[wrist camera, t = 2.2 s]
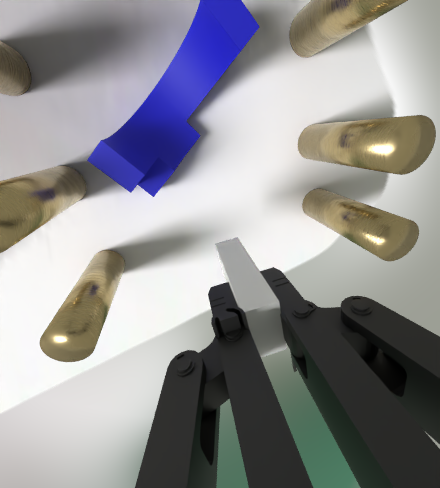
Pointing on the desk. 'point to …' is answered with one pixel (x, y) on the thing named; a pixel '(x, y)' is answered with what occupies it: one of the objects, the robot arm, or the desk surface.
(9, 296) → the desk surface
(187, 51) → the blue curved block
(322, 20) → the spacers
